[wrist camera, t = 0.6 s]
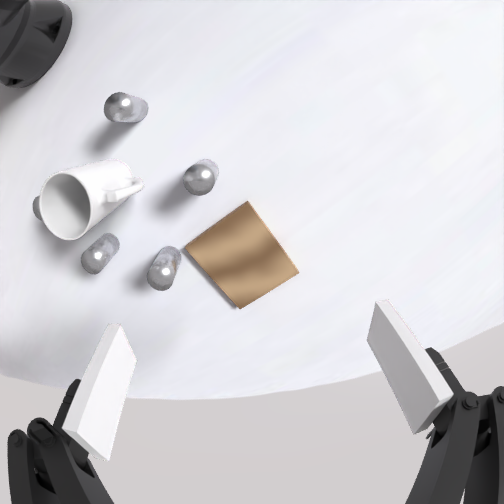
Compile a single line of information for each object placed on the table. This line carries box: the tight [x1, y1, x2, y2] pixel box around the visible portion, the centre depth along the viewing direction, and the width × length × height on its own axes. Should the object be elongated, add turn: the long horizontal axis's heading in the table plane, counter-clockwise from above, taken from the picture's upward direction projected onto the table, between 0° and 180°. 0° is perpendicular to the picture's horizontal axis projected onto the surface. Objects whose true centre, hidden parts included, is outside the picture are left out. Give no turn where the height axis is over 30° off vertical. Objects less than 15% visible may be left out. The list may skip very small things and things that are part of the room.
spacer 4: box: [147, 246, 181, 291], centre depth 34 cm, size 3×3×6 cm
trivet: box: [185, 201, 299, 309], centre depth 36 cm, size 12×10×1 cm
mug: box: [39, 159, 144, 240], centre depth 26 cm, size 10×7×12 cm, turn 91°
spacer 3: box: [104, 92, 148, 122], centre depth 25 cm, size 3×3×6 cm
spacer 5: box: [183, 159, 219, 195], centre depth 29 cm, size 3×3×6 cm
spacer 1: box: [33, 196, 43, 220], centre depth 29 cm, size 3×3×6 cm
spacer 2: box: [81, 233, 119, 274], centre depth 32 cm, size 3×3×6 cm
